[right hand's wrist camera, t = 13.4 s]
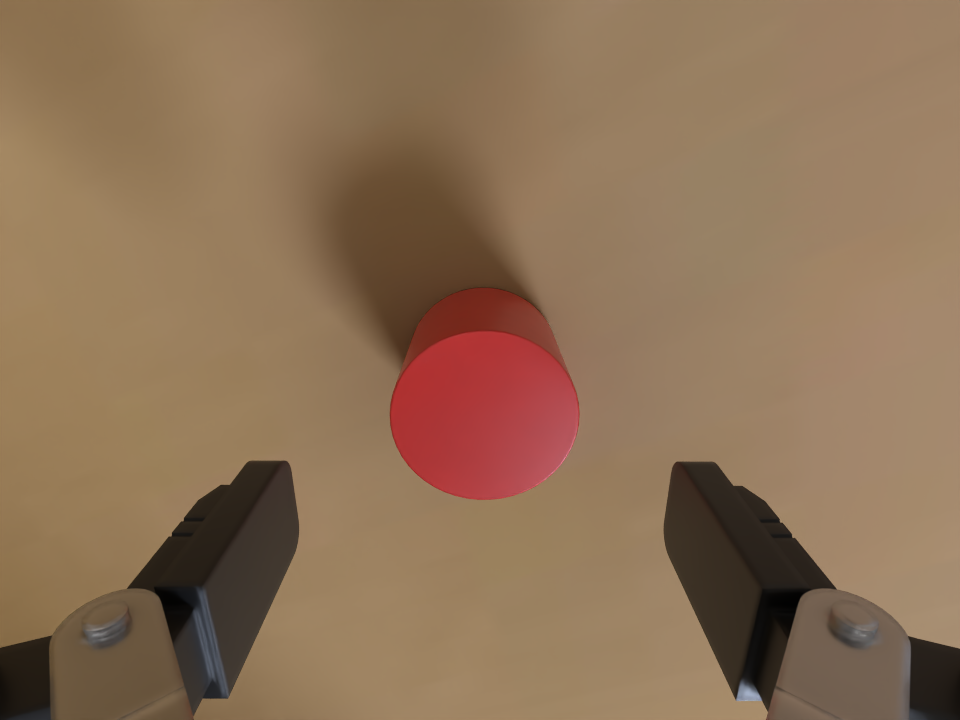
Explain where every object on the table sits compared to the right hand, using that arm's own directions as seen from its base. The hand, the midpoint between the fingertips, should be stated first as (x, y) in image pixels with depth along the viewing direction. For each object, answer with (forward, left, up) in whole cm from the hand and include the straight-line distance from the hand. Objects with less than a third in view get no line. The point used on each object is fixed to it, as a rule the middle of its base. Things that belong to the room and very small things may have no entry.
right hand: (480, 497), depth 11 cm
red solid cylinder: (0, 0, -7) cm, 7 cm away
